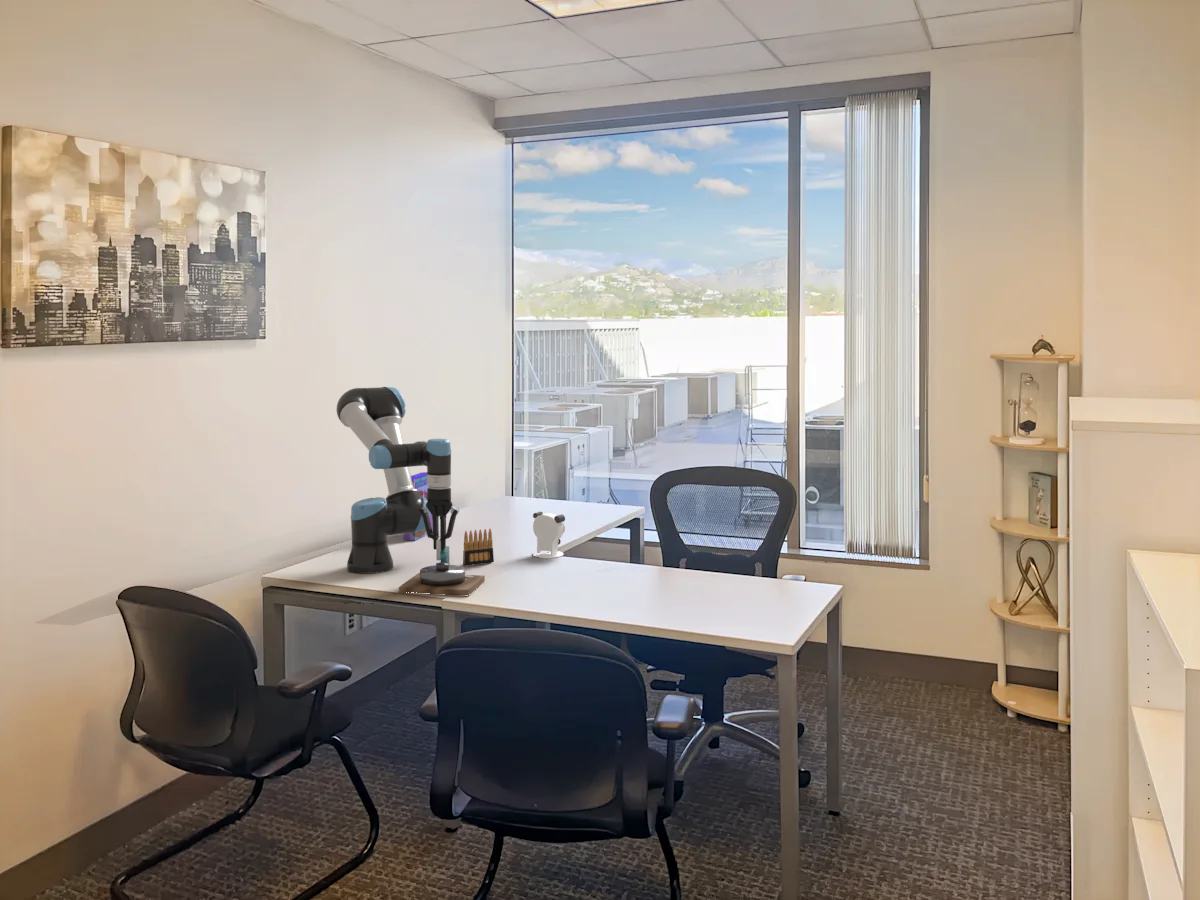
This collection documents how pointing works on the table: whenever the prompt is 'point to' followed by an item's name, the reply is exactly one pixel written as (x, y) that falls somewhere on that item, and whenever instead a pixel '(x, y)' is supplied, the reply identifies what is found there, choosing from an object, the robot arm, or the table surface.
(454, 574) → the dial
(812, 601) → the table surface
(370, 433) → the robot arm
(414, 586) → the stand
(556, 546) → the panda figurine
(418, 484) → the cereal box
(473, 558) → the ammunition clip
